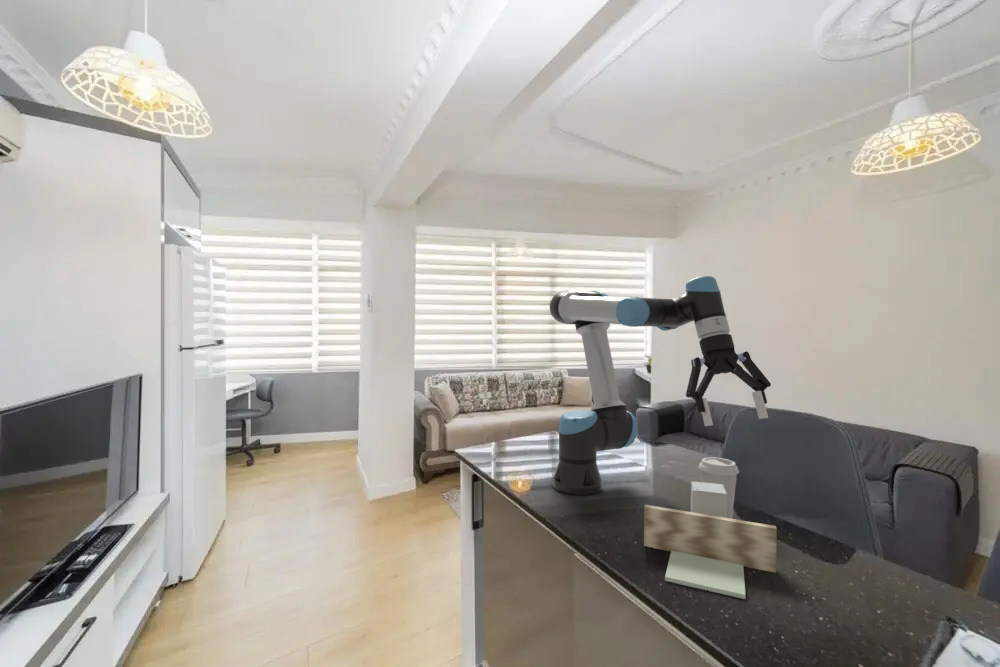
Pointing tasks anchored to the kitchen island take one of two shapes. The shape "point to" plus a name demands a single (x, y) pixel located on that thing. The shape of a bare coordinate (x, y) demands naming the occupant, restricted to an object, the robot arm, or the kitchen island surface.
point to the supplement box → (708, 499)
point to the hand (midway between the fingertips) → (736, 422)
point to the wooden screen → (711, 537)
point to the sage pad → (706, 574)
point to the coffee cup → (721, 477)
